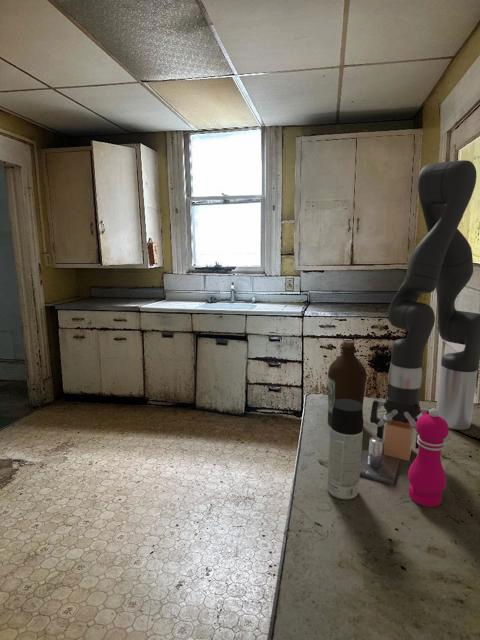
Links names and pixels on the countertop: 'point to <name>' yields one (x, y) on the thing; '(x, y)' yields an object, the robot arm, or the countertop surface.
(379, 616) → the countertop surface
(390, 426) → the duct sleeve
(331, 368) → the olive oil
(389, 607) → the countertop surface
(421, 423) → the pepper mill
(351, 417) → the spray can
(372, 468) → the flange
